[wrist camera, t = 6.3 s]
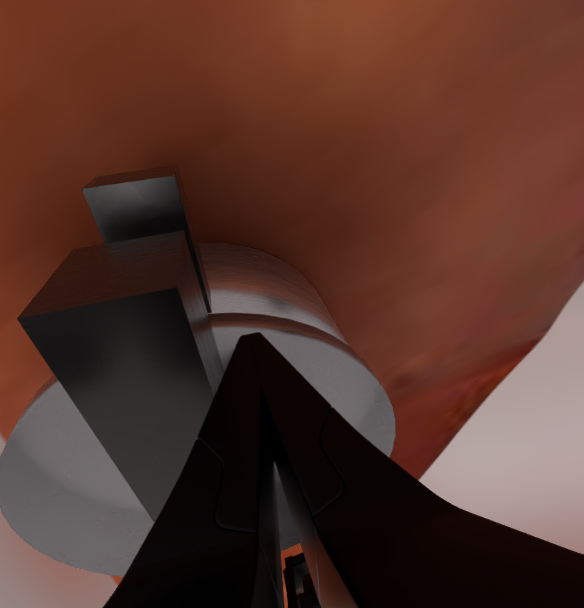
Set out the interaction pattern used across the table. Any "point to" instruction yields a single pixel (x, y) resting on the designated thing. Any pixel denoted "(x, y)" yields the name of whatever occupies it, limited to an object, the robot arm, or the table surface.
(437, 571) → the robot arm
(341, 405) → the cooker lid
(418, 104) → the table surface
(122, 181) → the cooker pot
